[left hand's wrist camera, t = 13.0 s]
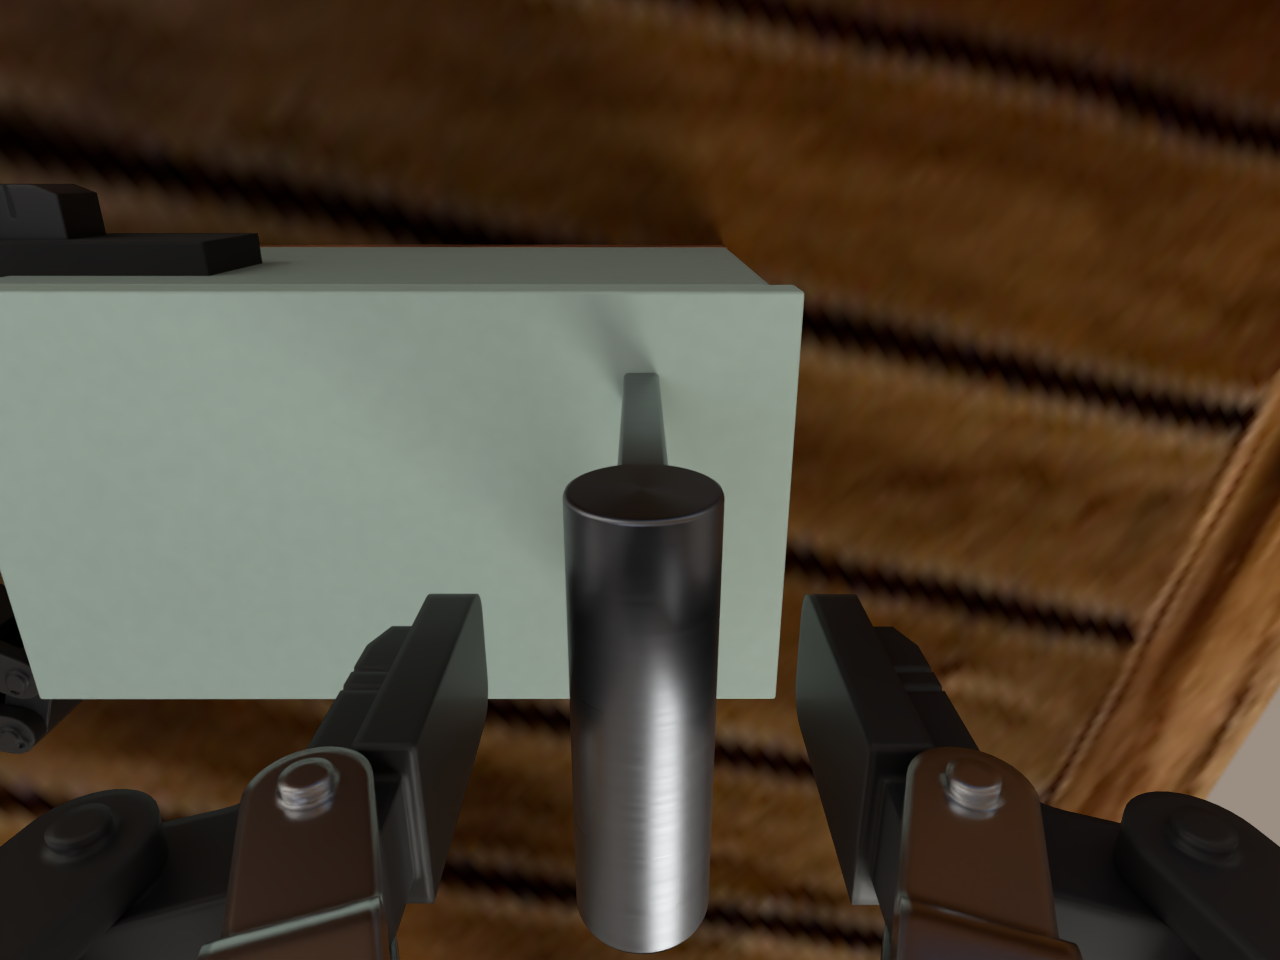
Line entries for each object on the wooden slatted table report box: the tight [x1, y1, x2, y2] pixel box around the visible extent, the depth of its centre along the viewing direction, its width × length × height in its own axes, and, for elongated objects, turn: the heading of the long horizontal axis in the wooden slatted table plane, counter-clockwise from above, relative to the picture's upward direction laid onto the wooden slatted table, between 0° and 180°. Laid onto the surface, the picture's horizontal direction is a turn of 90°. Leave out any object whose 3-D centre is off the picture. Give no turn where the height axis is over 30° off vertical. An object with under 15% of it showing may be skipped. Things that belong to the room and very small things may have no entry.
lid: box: [0, 285, 804, 954], centre depth 14 cm, size 17×9×9 cm, turn 90°
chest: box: [0, 244, 769, 285], centre depth 23 cm, size 17×9×10 cm, turn 90°
